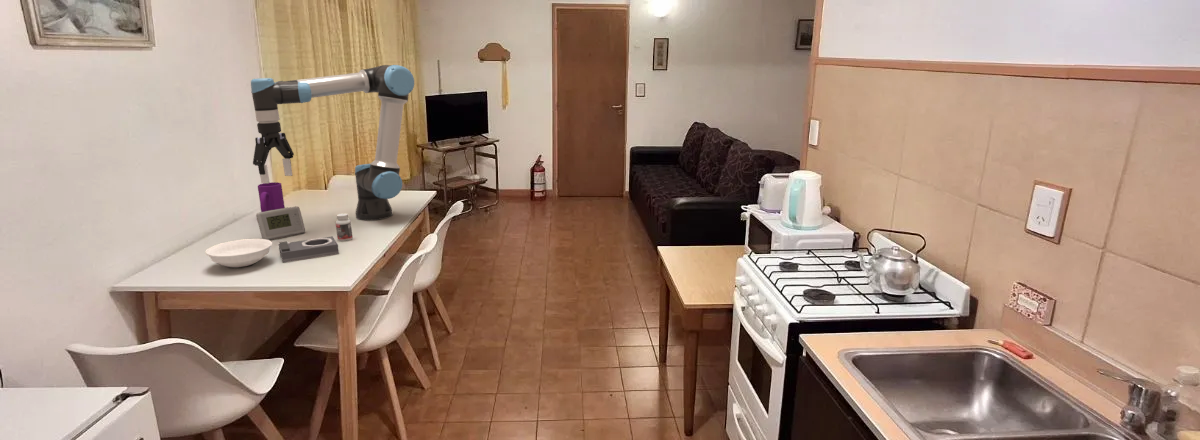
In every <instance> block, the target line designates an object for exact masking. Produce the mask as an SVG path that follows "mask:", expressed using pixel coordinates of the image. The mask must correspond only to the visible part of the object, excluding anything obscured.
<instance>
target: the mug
mask: <svg viewBox="0 0 1200 440" xmlns="http://www.w3.org/2000/svg"><path fill="white" fill-rule="evenodd" d="M257 191H258V196H259V197H258V198H259V205H260V206H259V207H260V212H265V211H270V210H275V209H281V208H286V206H285V200H284V195H283V194H284V192H283V186H282V183H281V182H270V183H260V184H257Z"/></svg>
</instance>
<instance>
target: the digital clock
mask: <svg viewBox="0 0 1200 440" xmlns="http://www.w3.org/2000/svg"><path fill="white" fill-rule="evenodd" d="M255 217H256V220H257V224H258V228H259V232H260V235H261V239H266V240H270V241H271V240H279V239H282V238H288V237H294V236H297V235H300V234H304V233H305V232H306V227H305V224H304V219H303V216H302V212H301V209H300V206H296V205H295V206H290V207H285V208H281V209H275V210H270V211H265V212H261V211H260V212H257V213H256V215H255Z"/></svg>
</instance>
